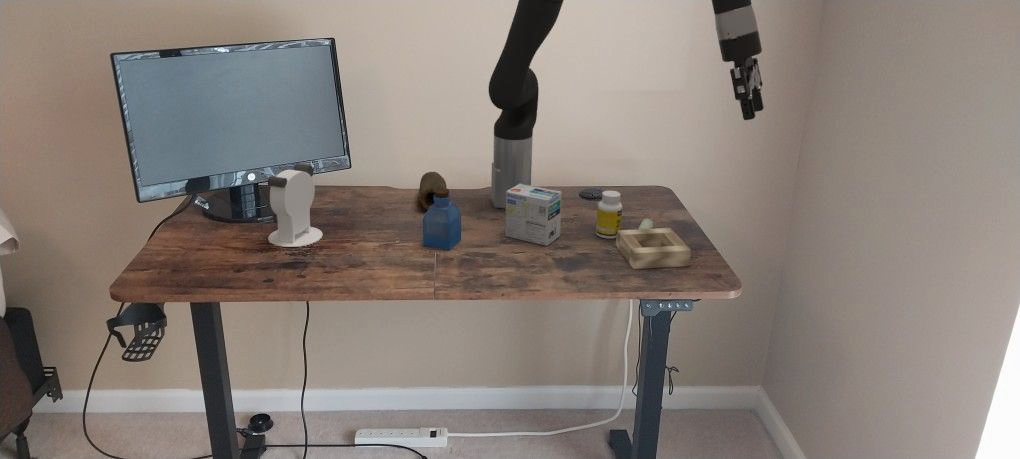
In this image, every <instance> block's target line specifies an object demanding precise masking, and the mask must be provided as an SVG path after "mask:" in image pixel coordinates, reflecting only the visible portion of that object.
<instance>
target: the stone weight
mask: <svg viewBox="0 0 1020 459" xmlns="http://www.w3.org/2000/svg"><path fill="white" fill-rule="evenodd" d="M437 188H447V183H446V180H445V178H444V177H443V176H442V175H441V174H440V173H438V172H437V171H427V172H426V173H424V174H423V175H422V177H421V178H420V182H419V189H418V194H419V195H418V196H419V201H420V203H421V206H422V207H423V208H424V209H425V210H428V209H429V207H430V206H431V205H433V204H434V203H435V201H434V195H435V191H434V190H435V189H437Z"/></svg>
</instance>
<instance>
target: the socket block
mask: <svg viewBox="0 0 1020 459" xmlns="http://www.w3.org/2000/svg"><path fill="white" fill-rule="evenodd" d="M615 239H616V241H615V246H616V247H617V249H618V250H619V252H620V253H621V255H622V256H623V257H624V258H625V260H626V262H628V265H630V267H631V268H632V269H633V270H638V269H639V270H640V269H642V270H643V269H657V268H660V269H661V268H675V267H677V268H678V267H690V264H691V257H692V249H691V248H690V247H689V246H688V245H687V244H686V243H685V242H684V241H683V239H682V238H680V236H679V235H678V234H677V233H676V232H675V231H674V230H673V229H672V228H671V227H661V228H660V227H659V228H652V229H620V230H617V237H616V238H615Z"/></svg>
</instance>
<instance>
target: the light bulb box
mask: <svg viewBox="0 0 1020 459" xmlns="http://www.w3.org/2000/svg"><path fill="white" fill-rule="evenodd" d="M562 193H563V192H562V190H555V189H548V188H545V187H544V188H543V187H540V186H539V187H538V186H534V185H533V186H532V185H531V186H529V185H523V184H518V185H516V186H515V187H513V188H511V189H509V190H508V191H506V209H505V226H504V227H505V232H504V233H505V237H508V238H511V239H517V240H520V241H525V242H528V243H533V244H537V245H542V246H546V247H548V245H550V244H552V243H553V242H554V241H555V240H556V239H558V238H559V237H560V236H561V218H562V215H561V214H562V196H563V195H562Z"/></svg>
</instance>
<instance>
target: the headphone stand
mask: <svg viewBox="0 0 1020 459" xmlns="http://www.w3.org/2000/svg"><path fill="white" fill-rule="evenodd" d="M314 172H315V170H314V167H313V166H312V165H308V164H302V163H301V164H300V163H295V164H294V166H293V169H286V170H283V171H281V172H279V173H278V174H277V175H276V176H274V175H270V176H269V177H267V186H269V187H270V189H269V190H270V191H269V204H270V207H271V210H272V212H273V213H274V214H273V222H274V223H275V224H277V229H276V230H274V231H273V232H271V233H270V234H269V235H268V243H269V244H271V243H272V244H274V245H277V246H282V247H299V248H303V247H302V246H305V247H308V246H307V245H309V246H311V245H310V244H312V245H314V244H313V243H315V242H317V241H318V242H320V241H321V240H322V239H321V238H323V237H322V236H323V232H322V230H320V229H319V228H316V227H313V226H311V213H310V212H311V210H310V208H311V206H312V205H313V202H314V198H315V193H316V189H315V188H316V186H315V183H314V180H313V178H312V177H313V176H314ZM320 239H321V240H320ZM319 240H320V241H319ZM318 242H317V243H318ZM272 244H271V245H272ZM315 244H316V243H315ZM274 245H273V246H274ZM277 246H276V247H277ZM282 247H281V248H282Z"/></svg>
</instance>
